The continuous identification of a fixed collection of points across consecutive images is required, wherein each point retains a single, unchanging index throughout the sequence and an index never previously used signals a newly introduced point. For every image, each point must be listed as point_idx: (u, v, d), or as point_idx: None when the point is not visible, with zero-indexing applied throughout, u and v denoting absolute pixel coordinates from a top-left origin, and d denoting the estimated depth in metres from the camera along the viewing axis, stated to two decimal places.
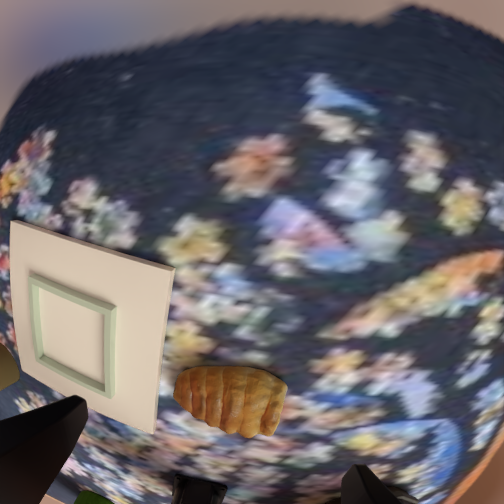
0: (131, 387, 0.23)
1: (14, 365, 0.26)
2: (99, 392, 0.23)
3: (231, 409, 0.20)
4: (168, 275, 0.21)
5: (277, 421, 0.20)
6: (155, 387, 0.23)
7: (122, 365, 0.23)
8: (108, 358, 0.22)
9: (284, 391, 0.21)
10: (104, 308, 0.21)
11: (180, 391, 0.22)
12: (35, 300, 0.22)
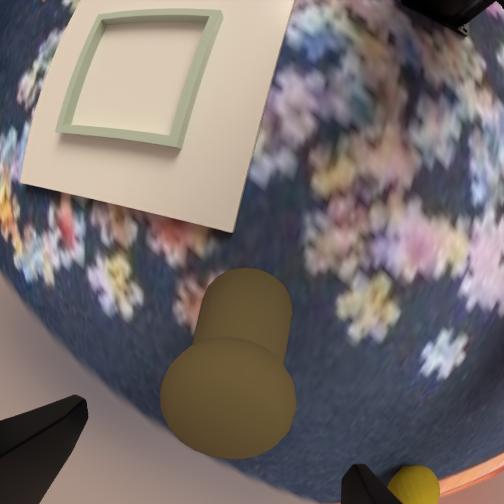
0: None
1: (239, 270, 0.18)
2: (211, 24, 0.14)
3: None
4: None
5: None
6: None
7: (173, 7, 0.14)
8: (151, 10, 0.14)
9: None
10: (95, 20, 0.14)
11: None
12: None
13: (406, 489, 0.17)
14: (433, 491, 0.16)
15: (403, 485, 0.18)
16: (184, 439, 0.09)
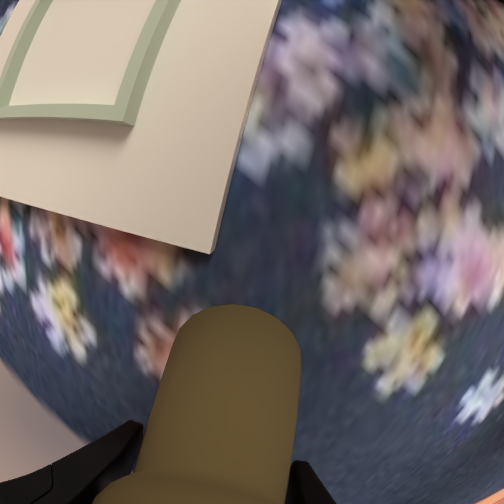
0: None
1: (222, 309, 0.12)
2: None
3: None
4: None
5: None
6: None
7: None
8: None
9: None
10: None
11: None
12: (18, 106, 0.10)
13: None
14: None
15: None
16: None
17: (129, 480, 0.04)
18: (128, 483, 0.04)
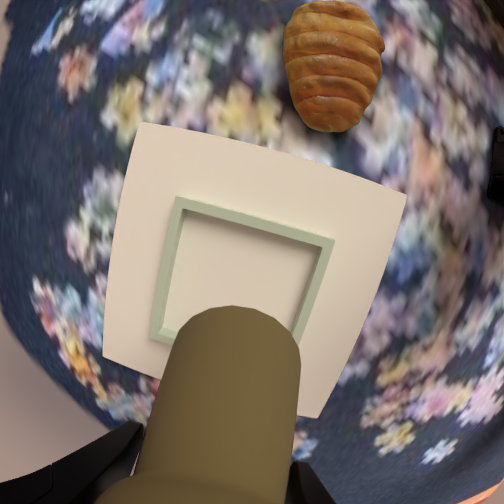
0: (314, 202, 0.17)
1: (222, 311, 0.12)
2: (324, 259, 0.17)
3: (325, 41, 0.13)
4: (143, 124, 0.17)
5: (335, 1, 0.13)
6: (307, 160, 0.17)
7: (274, 207, 0.18)
8: (252, 218, 0.17)
9: None
10: (173, 205, 0.17)
11: (323, 114, 0.16)
12: None
13: None
14: None
15: None
16: None
17: (129, 482, 0.04)
18: (129, 485, 0.04)
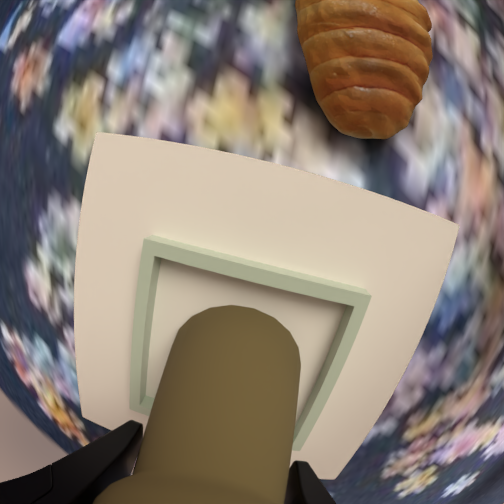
0: (341, 241, 0.12)
1: (221, 310, 0.12)
2: (356, 322, 0.12)
3: (359, 10, 0.08)
4: (101, 135, 0.12)
5: None
6: (332, 181, 0.12)
7: (286, 250, 0.12)
8: (255, 271, 0.12)
9: None
10: (141, 252, 0.12)
11: (363, 114, 0.10)
12: None
13: None
14: None
15: None
16: None
17: (129, 481, 0.04)
18: (128, 484, 0.04)
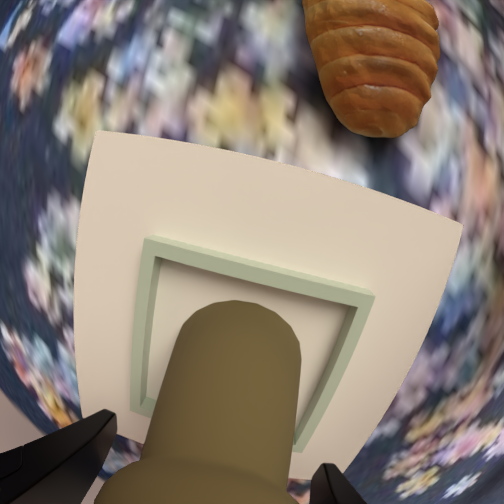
0: (345, 241, 0.12)
1: (225, 305, 0.12)
2: (359, 323, 0.12)
3: (369, 8, 0.08)
4: (101, 133, 0.12)
5: None
6: (335, 180, 0.11)
7: (289, 250, 0.12)
8: (257, 271, 0.11)
9: None
10: (142, 252, 0.12)
11: (374, 112, 0.10)
12: None
13: None
14: None
15: None
16: None
17: (137, 466, 0.05)
18: (137, 468, 0.04)
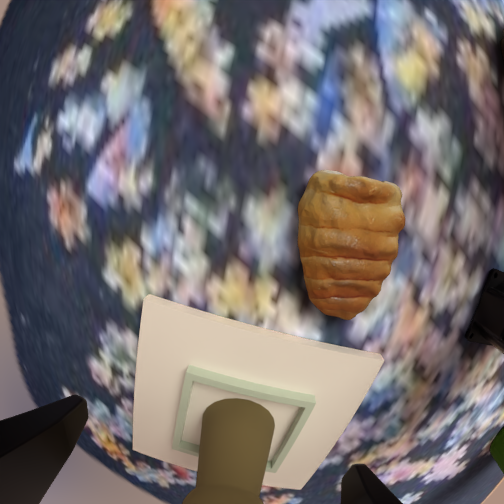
0: (301, 373, 0.20)
1: (232, 402, 0.20)
2: (306, 414, 0.20)
3: (344, 245, 0.16)
4: (147, 302, 0.20)
5: (360, 179, 0.15)
6: (298, 344, 0.19)
7: (268, 377, 0.20)
8: (250, 391, 0.19)
9: (320, 173, 0.16)
10: (185, 378, 0.19)
11: (335, 311, 0.18)
12: None
13: None
14: None
15: None
16: None
17: (202, 489, 0.13)
18: (202, 490, 0.12)
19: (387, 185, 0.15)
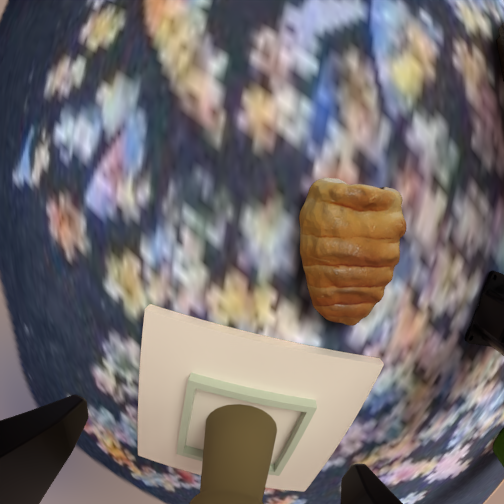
0: (302, 379, 0.20)
1: (234, 408, 0.20)
2: (307, 418, 0.20)
3: (345, 253, 0.16)
4: (149, 312, 0.20)
5: (360, 187, 0.15)
6: (297, 350, 0.20)
7: (269, 383, 0.20)
8: (251, 397, 0.19)
9: (320, 182, 0.17)
10: (187, 385, 0.20)
11: (339, 317, 0.18)
12: None
13: None
14: None
15: None
16: None
17: (206, 494, 0.13)
18: (206, 495, 0.13)
19: (387, 192, 0.15)
